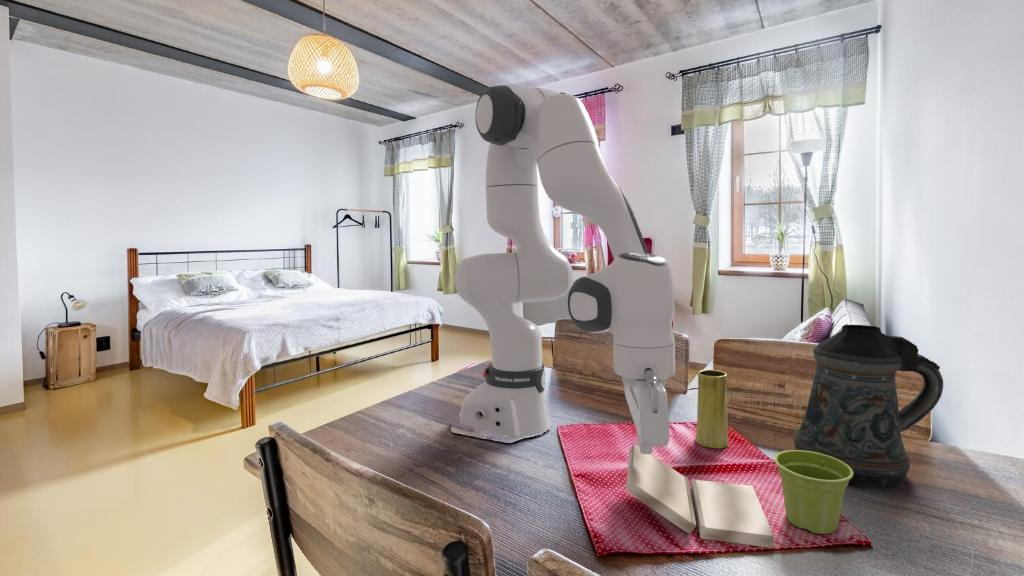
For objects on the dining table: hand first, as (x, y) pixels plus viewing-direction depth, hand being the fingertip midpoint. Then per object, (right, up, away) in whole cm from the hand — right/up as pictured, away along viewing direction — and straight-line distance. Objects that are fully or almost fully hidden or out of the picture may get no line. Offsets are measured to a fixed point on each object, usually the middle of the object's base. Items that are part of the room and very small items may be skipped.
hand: (644, 450), depth 71 cm
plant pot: (+23, -9, -4) cm, 25 cm away
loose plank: (+2, -6, 0) cm, 6 cm away
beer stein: (+41, -7, +11) cm, 43 cm away
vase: (+20, -6, +23) cm, 31 cm away
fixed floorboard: (+12, -9, -2) cm, 15 cm away
